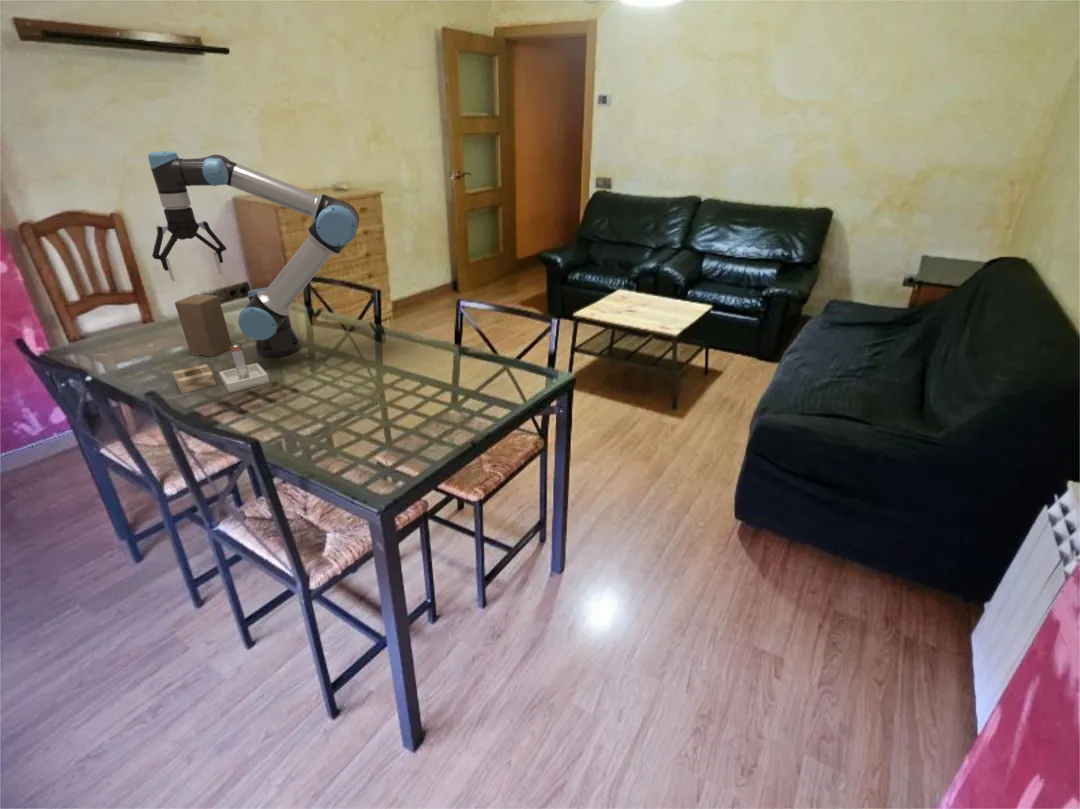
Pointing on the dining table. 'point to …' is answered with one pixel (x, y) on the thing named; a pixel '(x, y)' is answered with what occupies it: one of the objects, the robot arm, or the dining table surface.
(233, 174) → the robot arm
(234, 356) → the pin
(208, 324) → the wooden block
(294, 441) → the dining table surface
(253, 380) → the tray
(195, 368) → the block
